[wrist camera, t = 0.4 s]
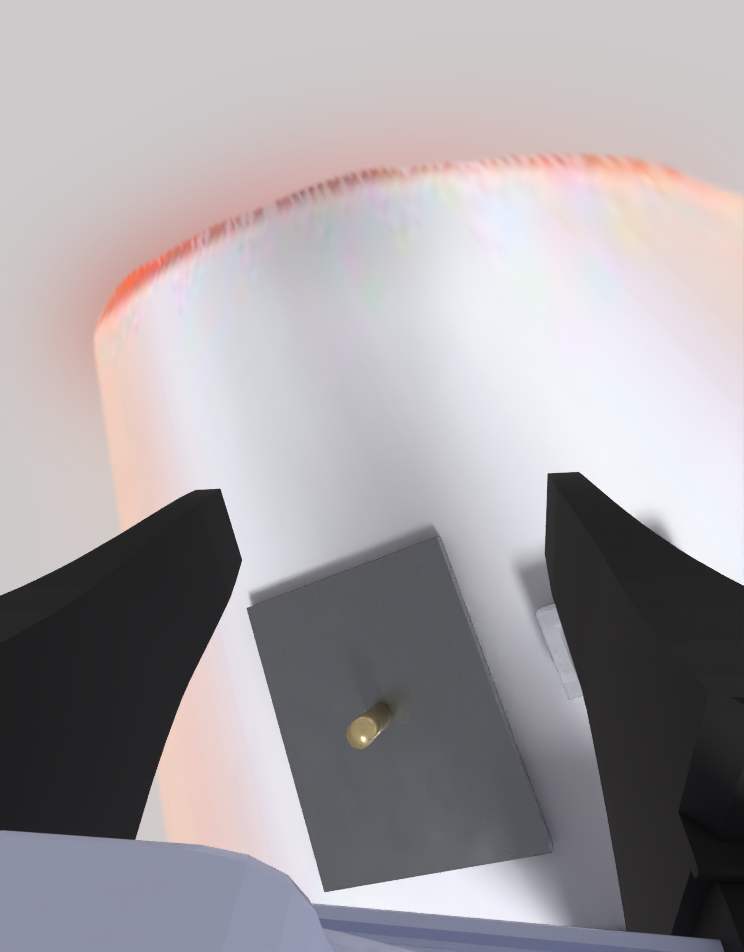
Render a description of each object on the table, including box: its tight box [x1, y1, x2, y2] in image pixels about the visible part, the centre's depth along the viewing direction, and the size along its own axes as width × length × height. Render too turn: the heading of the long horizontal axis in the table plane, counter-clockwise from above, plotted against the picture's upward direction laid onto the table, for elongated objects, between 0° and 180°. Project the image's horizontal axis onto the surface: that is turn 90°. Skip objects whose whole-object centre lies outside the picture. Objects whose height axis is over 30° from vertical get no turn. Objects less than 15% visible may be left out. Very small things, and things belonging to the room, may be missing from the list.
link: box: [535, 603, 583, 700], centre depth 32 cm, size 9×5×3 cm, turn 110°
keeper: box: [247, 537, 553, 892], centre depth 36 cm, size 20×16×5 cm
